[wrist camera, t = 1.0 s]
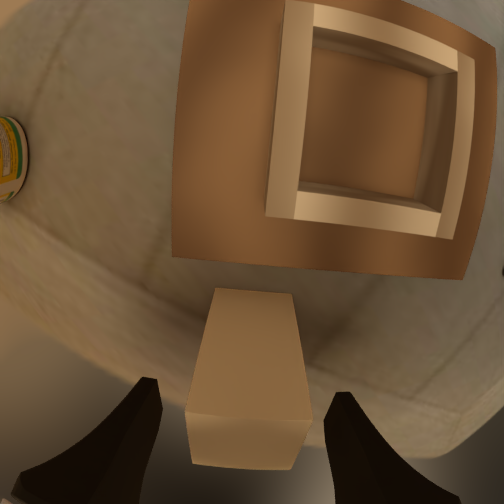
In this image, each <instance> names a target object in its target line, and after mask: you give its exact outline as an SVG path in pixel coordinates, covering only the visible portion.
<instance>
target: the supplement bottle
mask: <svg viewBox="0 0 504 504" xmlns="http://www.w3.org/2000/svg"><path fill="white" fill-rule="evenodd" d="M27 162H28V157H27V142H26V138H25V134H24V132H23V130H22V128H21V126H20V125H19V124H18V123H17V122H16V121H15V120H14V119H13V118H10V117H0V203H2V202H5V201H7V200H9V199H11V198H12V197H13V196H14V195H16V193H17V192H18V191H19V189H20V188H21V186H22V184H23V181H24V178H25V175H26V170H27Z"/></svg>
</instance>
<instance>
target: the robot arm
mask: <svg viewBox="0 0 504 504" xmlns="http://www.w3.org/2000/svg"><path fill="white" fill-rule="evenodd" d="M162 411H163V407H162V402H161V397H160V392H159V387H158V382H157V379H153V378H147V377H142V378H140V380H139V381H138V382H137V384H136V385H135V386H134V387H133V388H132V390H131V391H130V392H129V393H128V395H127V396H126V397H125V398H124V399H123V400H122V401H121V403H120V404H119V405H118V406H117V407H116V408H115V409H114V410H113V411H112V412H111V414H110V415H108V416H107V417H106V419H104V421H102V422H101V423H100V424H99V425H98V426H97V427H96V428H95V429H94V430H93V431H92V432H90V433H89V434H88V435H87V436H85V437H84V438H83V439H82V440H80V441H79V442H78V443H76V444H75V445H73V446H72V447H70V448H69V449H68V450H66V451H64V452H63V453H61V454H59V455H57V456H56V457H54V458H52V459H50V460H48V461H47V462H45V463H43V464H40V465H38V466H35V467H33V468H31V469H28V470H26V471H23V472H21V473H20V475H19V476H18V478H17V481H16V483H15V485H14V487H13V490H12V492H11V496H12V497H13V498H14V499H15V500H17V501H18V502H19V503H21V504H139V499H140V493H141V487H142V482H143V477H144V473H145V470H146V467H147V464H148V460H149V457H150V455H151V452H152V448H153V445H154V442H155V439H156V436H157V433H158V430H159V426H160V421H161V416H162ZM324 433H325V443H326V448H327V453H328V458H329V463H330V467H331V472H332V477H333V482H334V489H335V503H336V504H461V501H460V499H459V497H458V496H456V495H454V494H452V493H450V492H448V491H446V490H444V489H442V488H441V487H439V486H437V485H436V484H434V483H433V482H431V481H429V480H428V479H427V478H425V477H424V476H423V475H421V474H420V473H419V472H417V471H416V470H415V469H413V468H412V467H411V466H410V465H409V464H408V463H407V462H406V461H405V460H403V459H402V458H401V457H400V456H399V455H398V454H397V453H396V452H395V451H394V449H393V448H392V447H391V446H390V445H389V444H388V443H387V442H386V440H385V439H384V438H383V437H382V436H381V434H380V433H379V432H378V430H377V429H376V428H375V426H374V425H373V424H372V423H371V421H370V420H369V418H368V417H367V416H366V414H365V413H364V411H363V410H362V408H361V407H360V406H359V404H358V403H357V401H356V400H355V398H354V397H353V395H352V394H351V393H350V392H336V394H335V396H334V398H333V400H332V403H331V405H330V407H329V409H328V412H327V414H326V416H325V418H324ZM1 504H12V503H10V502H9V501H7V500H5V499H3V500H2V502H1Z"/></svg>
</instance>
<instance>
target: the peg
mask: <svg viewBox="0 0 504 504" xmlns="http://www.w3.org/2000/svg"><path fill="white" fill-rule="evenodd" d="M185 418H186V425H187V431H188V438H189V445H190V451H191V457H192V463H193V464H201V465H209V466H217V467H228V468H240V469H259V470H260V469H261V470H290V469H291V467H292V465H293V463H294V461H295V459H296V457H297V455H298V453H299V451H300V449H301V447H302V444H303V442H304V440H305V438H306V436H307V433H308V431H309V429H310V427H311V424H312V422H313V415H312V409H311V402H310V396H309V389H308V383H307V377H306V371H305V365H304V359H303V353H302V348H301V342H300V336H299V331H298V325H297V319H296V314H295V309H294V303H293V298H292V294H288V293H275V292H262V291H250V290H239V289H228V288H217V287H215V291H214V295H213V299H212V302H211V306H210V310H209V314H208V318H207V322H206V326H205V330H204V334H203V338H202V342H201V346H200V350H199V354H198V358H197V362H196V366H195V370H194V374H193V379H192V383H191V387H190V391H189V395H188V400H187V404H186V408H185Z"/></svg>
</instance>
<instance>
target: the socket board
mask: <svg viewBox="0 0 504 504" xmlns="http://www.w3.org/2000/svg"><path fill="white" fill-rule="evenodd" d="M496 112H497V68H496V52H495V48H494V47H493V46H491V45H490V44H488V43H486V42H485V41H483V40H482V39H480V38H478V37H477V36H475V35H473V34H471V33H470V32H468V31H466V30H464V29H463V28H461V27H459V26H457V25H455V24H453V23H451V22H449V21H447V20H445V19H443V18H441V17H439V16H437V15H435V14H433V13H430V12H428V11H426V10H424V9H421V8H419V7H417V6H414V5H412V4H409V3H407V2H404V1H401V0H190V2H189V8H188V14H187V20H186V26H185V33H184V40H183V48H182V55H181V64H180V73H179V82H178V92H177V104H176V116H175V131H174V148H173V172H172V257H180V258H190V259H201V260H212V261H223V262H234V263H245V264H256V265H268V266H280V267H292V268H304V269H316V270H328V271H341V272H354V273H367V274H380V275H394V276H408V277H423V278H437V279H452V280H463V277H464V274H465V271H466V269H467V266H468V263H469V259H470V256H471V253H472V250H473V246H474V243H475V240H476V236H477V232H478V229H479V225H480V221H481V217H482V212H483V208H484V204H485V199H486V194H487V189H488V183H489V178H490V171H491V165H492V158H493V150H494V140H495V129H496Z"/></svg>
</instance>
